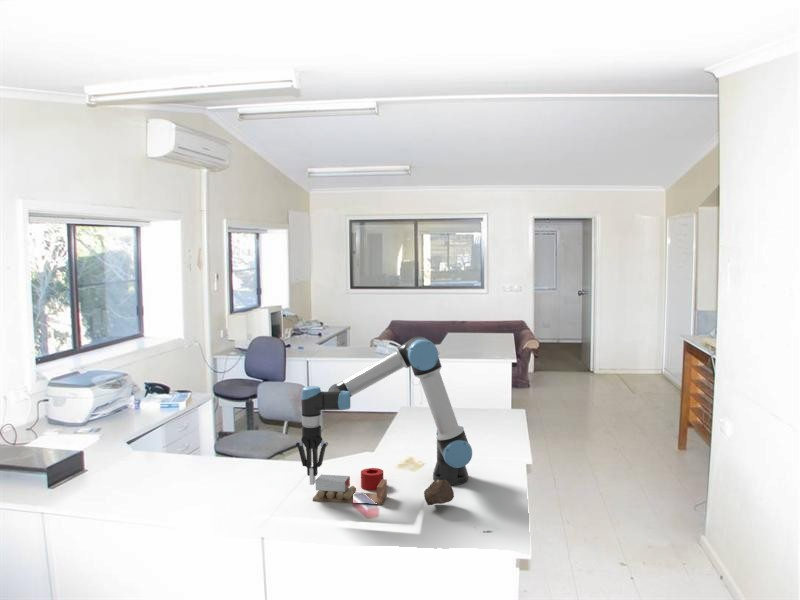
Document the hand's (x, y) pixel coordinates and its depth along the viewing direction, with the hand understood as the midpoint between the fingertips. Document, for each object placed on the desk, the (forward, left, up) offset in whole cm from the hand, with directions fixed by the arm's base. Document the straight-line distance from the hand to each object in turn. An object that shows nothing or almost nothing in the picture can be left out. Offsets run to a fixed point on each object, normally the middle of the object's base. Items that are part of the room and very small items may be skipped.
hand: (312, 483), depth 247 cm
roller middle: (-8, 0, -4) cm, 10 cm away
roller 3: (-14, 0, -2) cm, 14 cm away
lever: (-19, -18, -6) cm, 27 cm away
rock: (-50, +1, -6) cm, 50 cm away
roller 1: (-4, 0, -4) cm, 6 cm away
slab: (-8, 0, -1) cm, 9 cm away
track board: (-15, 0, -5) cm, 16 cm away
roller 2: (-12, 0, -4) cm, 13 cm away
